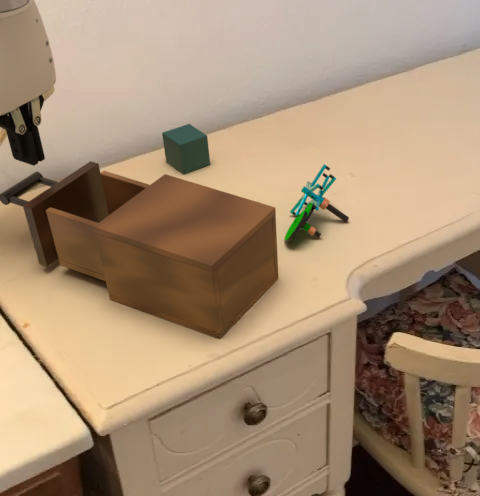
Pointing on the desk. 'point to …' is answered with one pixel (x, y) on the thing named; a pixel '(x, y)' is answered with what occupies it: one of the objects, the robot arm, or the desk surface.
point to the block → (186, 148)
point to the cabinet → (189, 254)
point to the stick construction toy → (312, 206)
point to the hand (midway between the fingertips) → (29, 159)
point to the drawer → (72, 214)
